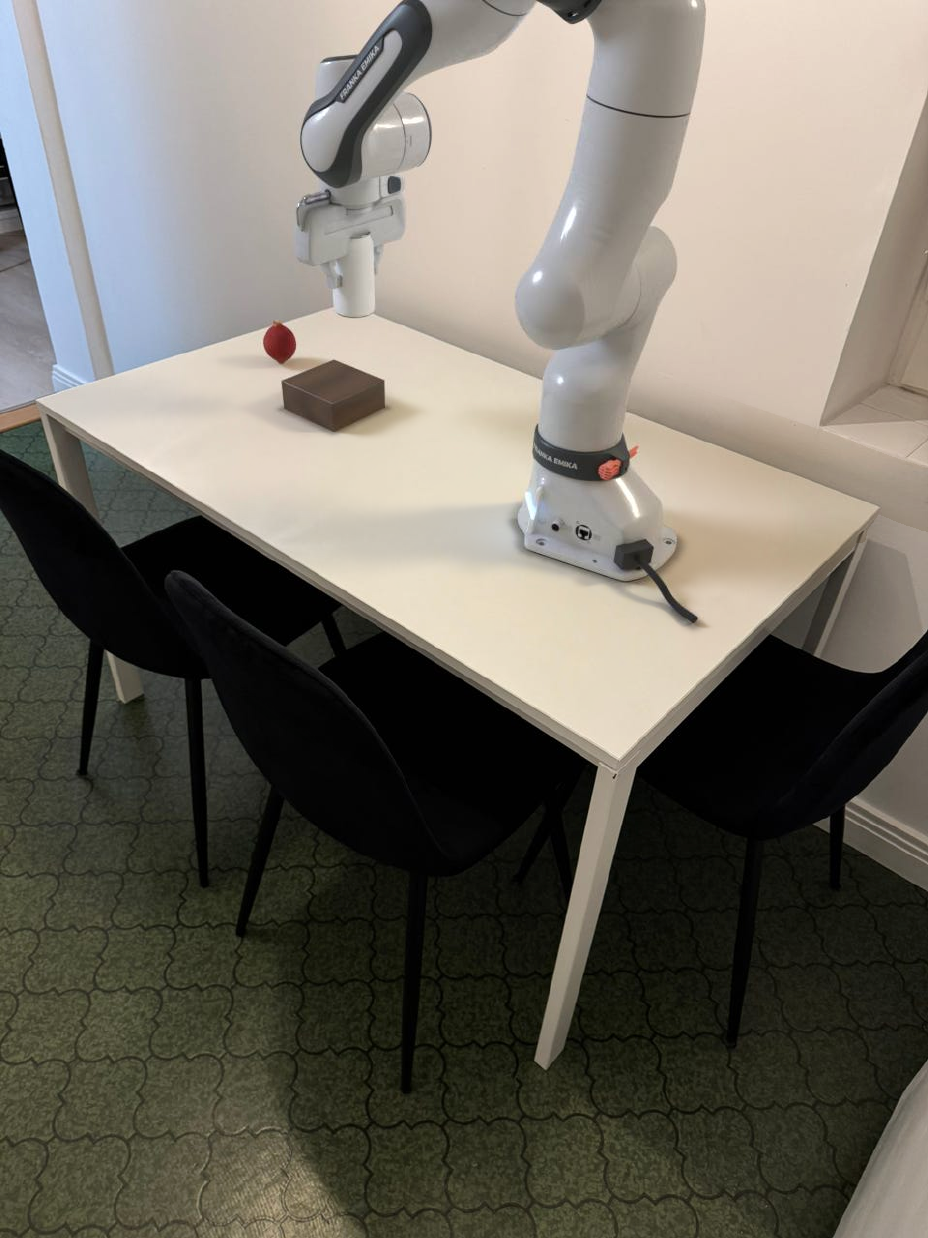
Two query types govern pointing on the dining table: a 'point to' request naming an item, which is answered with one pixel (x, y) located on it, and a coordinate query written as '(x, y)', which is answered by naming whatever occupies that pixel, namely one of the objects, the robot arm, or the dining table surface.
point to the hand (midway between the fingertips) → (353, 280)
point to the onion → (279, 342)
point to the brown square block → (333, 394)
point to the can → (356, 279)
